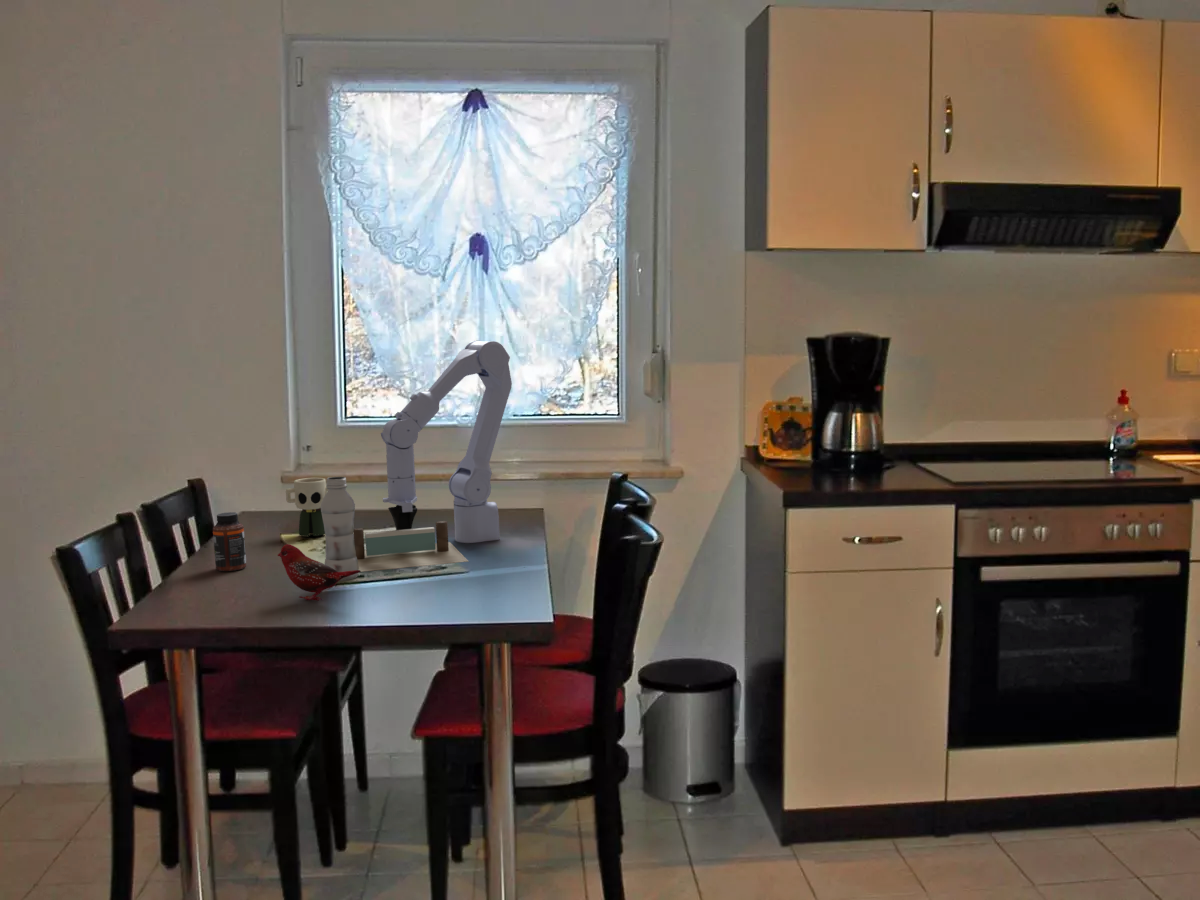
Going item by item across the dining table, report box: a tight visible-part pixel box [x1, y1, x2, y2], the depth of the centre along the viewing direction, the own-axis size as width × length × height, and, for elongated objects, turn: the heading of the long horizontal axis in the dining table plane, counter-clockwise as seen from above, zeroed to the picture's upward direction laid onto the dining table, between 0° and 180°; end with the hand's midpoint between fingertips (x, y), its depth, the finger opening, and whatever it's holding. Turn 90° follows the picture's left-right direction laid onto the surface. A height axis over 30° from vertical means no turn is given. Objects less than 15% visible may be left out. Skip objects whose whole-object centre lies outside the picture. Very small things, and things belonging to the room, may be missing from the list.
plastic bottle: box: [321, 476, 359, 582], centre depth 216 cm, size 6×7×20 cm
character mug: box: [285, 477, 328, 537], centre depth 261 cm, size 11×7×13 cm, turn 97°
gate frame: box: [353, 520, 469, 573], centre depth 233 cm, size 22×20×7 cm
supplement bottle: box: [212, 511, 247, 572], centre depth 230 cm, size 6×6×11 cm
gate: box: [364, 526, 436, 556], centre depth 235 cm, size 14×2×4 cm, turn 108°
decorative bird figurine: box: [277, 543, 362, 601], centre depth 203 cm, size 3×18×10 cm, turn 67°
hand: (404, 540), depth 241 cm, fingers closed
